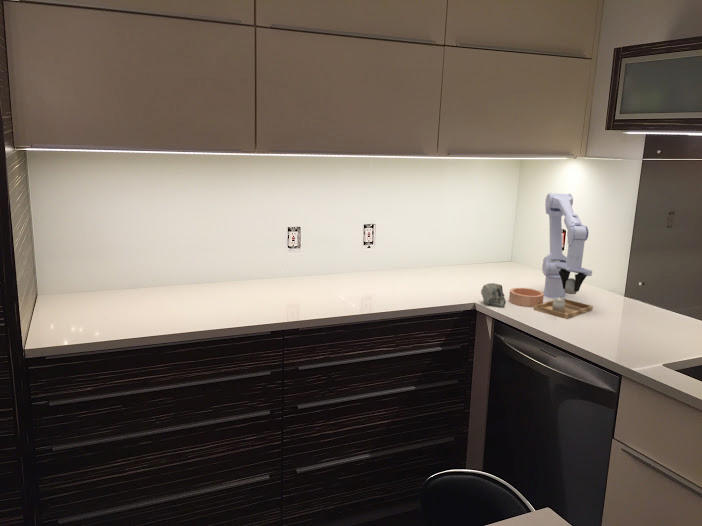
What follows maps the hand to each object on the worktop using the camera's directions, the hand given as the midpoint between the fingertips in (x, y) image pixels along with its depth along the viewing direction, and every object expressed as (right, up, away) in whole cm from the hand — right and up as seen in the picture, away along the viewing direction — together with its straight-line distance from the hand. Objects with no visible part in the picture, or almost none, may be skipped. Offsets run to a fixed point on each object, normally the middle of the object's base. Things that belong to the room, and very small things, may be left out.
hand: (570, 289), depth 240 cm
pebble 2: (0, -1, 0) cm, 1 cm away
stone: (-30, -6, +5) cm, 31 cm away
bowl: (-16, -6, +8) cm, 18 cm away
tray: (-3, -8, -1) cm, 9 cm away
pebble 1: (-6, -8, -4) cm, 11 cm away
